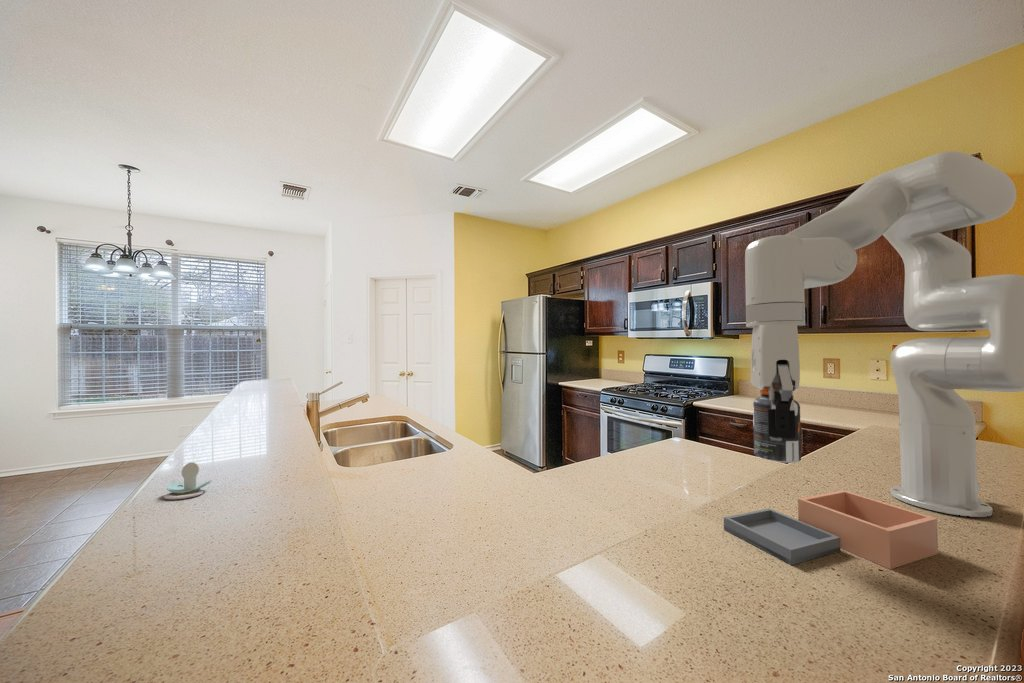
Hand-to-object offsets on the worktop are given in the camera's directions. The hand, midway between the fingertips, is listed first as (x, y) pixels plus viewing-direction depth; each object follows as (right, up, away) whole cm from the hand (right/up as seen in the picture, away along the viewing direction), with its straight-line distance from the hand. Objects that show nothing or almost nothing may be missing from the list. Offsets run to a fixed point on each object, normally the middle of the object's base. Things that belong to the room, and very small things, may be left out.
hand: (776, 431), depth 56 cm
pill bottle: (0, -4, 0) cm, 4 cm away
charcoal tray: (0, -17, 0) cm, 17 cm away
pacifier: (-107, -17, +17) cm, 110 cm away
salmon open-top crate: (+13, -17, -1) cm, 21 cm away
